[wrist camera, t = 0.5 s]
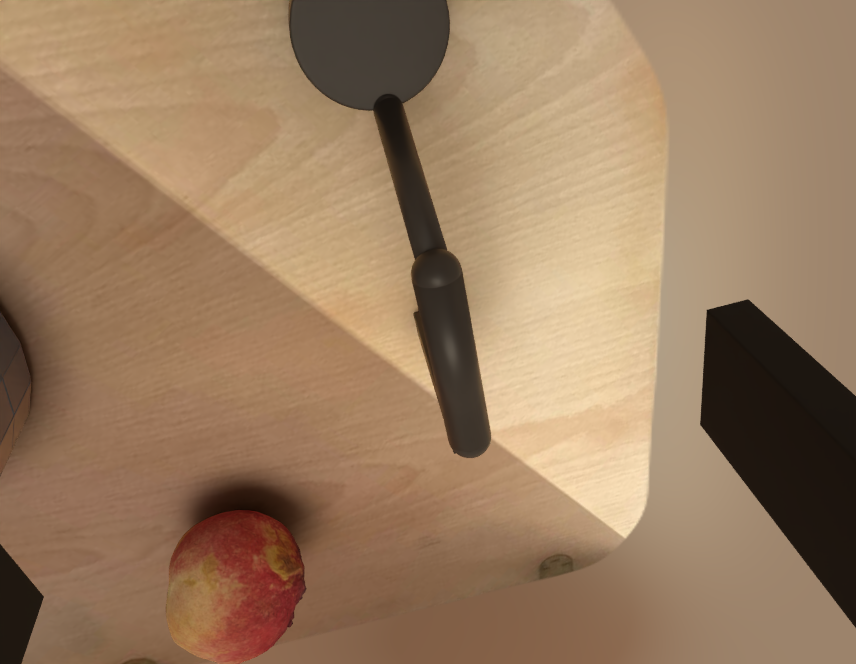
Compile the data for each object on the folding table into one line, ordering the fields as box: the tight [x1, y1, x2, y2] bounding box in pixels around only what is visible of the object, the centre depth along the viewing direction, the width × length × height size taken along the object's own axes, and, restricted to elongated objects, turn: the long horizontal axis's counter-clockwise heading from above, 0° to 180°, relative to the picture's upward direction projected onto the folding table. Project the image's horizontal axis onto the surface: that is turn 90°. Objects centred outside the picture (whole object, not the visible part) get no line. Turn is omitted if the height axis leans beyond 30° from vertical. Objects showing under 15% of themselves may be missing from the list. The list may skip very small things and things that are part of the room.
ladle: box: [288, 0, 491, 458], centre depth 27 cm, size 19×6×10 cm, turn 10°
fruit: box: [166, 510, 306, 664], centre depth 39 cm, size 8×8×8 cm
